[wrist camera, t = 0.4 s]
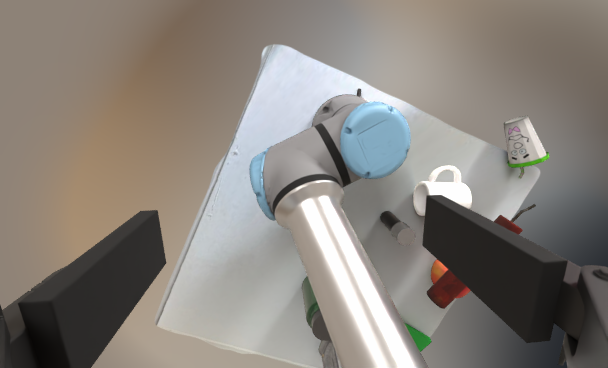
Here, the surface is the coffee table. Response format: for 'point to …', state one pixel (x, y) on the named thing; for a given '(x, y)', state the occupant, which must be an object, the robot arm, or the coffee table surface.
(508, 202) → the coffee table surface
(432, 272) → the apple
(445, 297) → the firecracker
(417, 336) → the bracket
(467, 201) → the mug
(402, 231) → the flashlight
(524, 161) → the cup
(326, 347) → the figurine
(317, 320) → the bottle
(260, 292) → the coffee table surface
